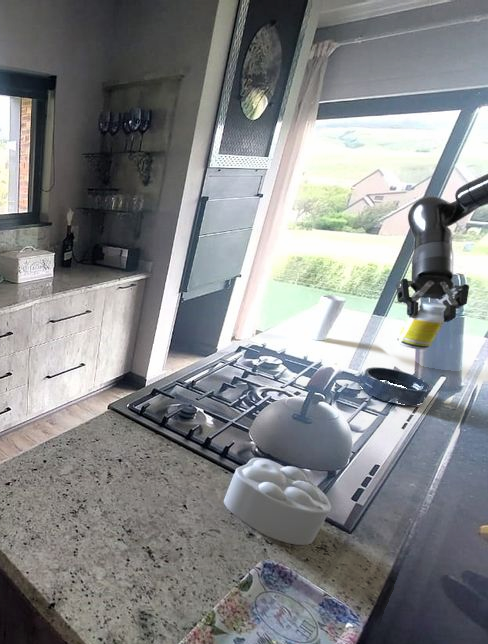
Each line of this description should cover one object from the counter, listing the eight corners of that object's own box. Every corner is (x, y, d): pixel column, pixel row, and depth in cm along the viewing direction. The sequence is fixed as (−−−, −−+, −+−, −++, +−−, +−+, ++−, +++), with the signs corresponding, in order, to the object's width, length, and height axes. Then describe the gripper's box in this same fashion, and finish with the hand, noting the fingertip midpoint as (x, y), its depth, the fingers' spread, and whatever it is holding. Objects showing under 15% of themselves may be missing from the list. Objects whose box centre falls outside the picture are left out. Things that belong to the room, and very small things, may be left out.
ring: (428, 398, 107) (438, 382, 105) (413, 413, 101) (424, 396, 98) (366, 378, 117) (374, 363, 115) (349, 390, 110) (357, 374, 108)
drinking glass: (307, 340, 142) (325, 299, 135) (302, 333, 148) (318, 293, 141) (330, 343, 140) (349, 301, 133) (323, 336, 146) (341, 296, 139)
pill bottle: (430, 352, 106) (455, 310, 100) (398, 346, 109) (421, 305, 103) (423, 344, 111) (447, 303, 105) (393, 339, 114) (414, 299, 108)
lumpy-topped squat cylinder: (247, 482, 77) (262, 446, 73) (325, 528, 68) (348, 490, 64) (216, 503, 72) (231, 466, 68) (296, 557, 63) (319, 517, 59)
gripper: (407, 252, 108) (405, 307, 104) (479, 258, 103) (479, 316, 99) (389, 268, 114) (386, 320, 110) (455, 274, 110) (455, 329, 106)
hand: (430, 318), depth 105 cm, fingers closed on pill bottle, 6 cm apart
